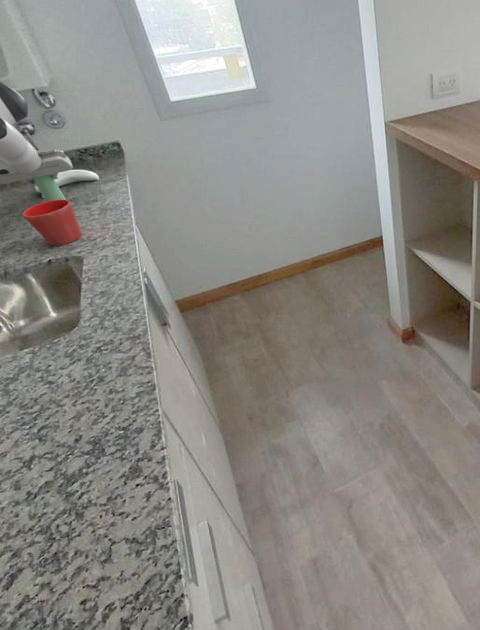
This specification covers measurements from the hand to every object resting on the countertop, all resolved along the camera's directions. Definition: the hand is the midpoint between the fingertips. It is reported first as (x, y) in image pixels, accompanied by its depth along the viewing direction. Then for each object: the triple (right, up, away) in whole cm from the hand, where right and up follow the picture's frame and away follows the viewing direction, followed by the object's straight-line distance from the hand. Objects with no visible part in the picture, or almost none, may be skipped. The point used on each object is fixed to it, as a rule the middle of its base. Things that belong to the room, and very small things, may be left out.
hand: (43, 179), depth 144 cm
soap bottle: (+1, -7, +4) cm, 8 cm away
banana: (-4, +2, +16) cm, 17 cm away
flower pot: (+23, -23, -19) cm, 38 cm away
